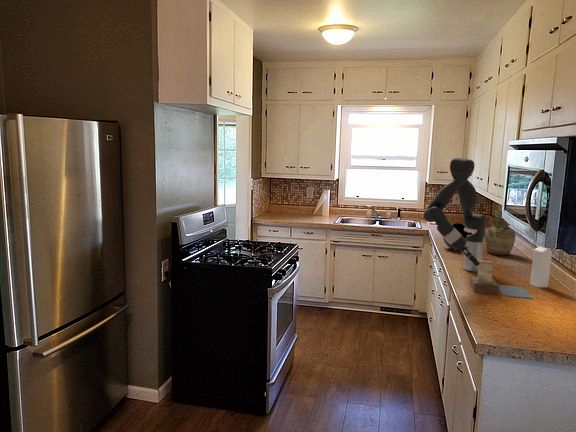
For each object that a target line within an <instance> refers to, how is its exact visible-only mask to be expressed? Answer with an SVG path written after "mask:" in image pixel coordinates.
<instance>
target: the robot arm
mask: <svg viewBox="0 0 576 432" xmlns="http://www.w3.org/2000/svg"><path fill="white" fill-rule="evenodd" d="M449 163H450V164H449V169H450V174H451V176H452V179H453V180H452V181H450V182H449V183H447V184H446V185H444V186H443V187H441V189H440V190H439V191H438V193H437V194H436V196H435V197H434V199H433V201H432V202H431V203H430V204H429V205H428V207H427V208H426V209H425V210H424V213H423V219H424V221H426V222H427V223H435V224H436V230H437V231H438V232H439V234H440V235H441V236H442V238H443V237H444V238H445V240H446V241H447V242H448V243H449V244H450V245H451V246H452V248H453V249H452V250H454V251H459V250H458V249H461V250H460V252H461V254H462V255H463V256H464V257H463V265H462V267H463V270H465V271H469V272H478V265H479V264H480V263H479V260H482V253H483V244H484V231H486V230H485V229H486V225H487V217H486V215H485V214H481V213H473V212H472V209H473V208H474V207H475V205H476V204H477V201H478V195H477V190H476V188H475V186H474V185H473V184H472V183H471V182H470V181H469V180H468V179H469V178H470V177H471V176H472V175H473V172H474V171H475V161H474V160H473V159H469V158H463V157H455V158H452V159H451V161H450V162H449ZM456 193H457V194H458V197H459V198H458V199H459V202H460V205H461V209H462V214H463V215H462V216H463V220H464V226H465V228H467V229H470V230H474V231H475V230H476V232H475V233H472V234H471V235H467V236H466V239H465V238H464V237H463V236H462V235H461V234H460V233H459V232H458V231H457V230H456V229H455V228H454V227H453V226H452V225H453V224H452V223H451V222H449V219H448V217H447V216H446V214H445V213H444V211H443V210H444V209H445V208H446V207H447V206H448V204H449V203H450V201H451V200H452V199H453V197H454V195H455V194H456ZM451 224H452V225H451ZM465 244H466V245H465Z"/></svg>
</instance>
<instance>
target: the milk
mask: <svg viewBox="0 0 576 432" xmlns="http://www.w3.org/2000/svg"><path fill="white" fill-rule="evenodd" d="M552 256H553V251H552V250H550V249H549V247H548V248H545V247H543V246H542V245H538V247H536V248H534V249H533V256H532V263H531V264H532V265H531V270H530V271H531V272H530V279H529V285H531V286H533V287H535V288H548V286H549V281H550V272H551V265H552Z"/></svg>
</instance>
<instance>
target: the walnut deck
mask: <svg viewBox="0 0 576 432" xmlns="http://www.w3.org/2000/svg"><path fill="white" fill-rule="evenodd" d="M498 285H499V284H498V283H497V282H496V280H495V279H494V278H493V277H492V280H491V283H489V282H479V281H478V280H477V276H473V275H470V276H469V286H470V287H471V289H472V290H473V292H474V293H480V292H482V294H483V293H484V294H490V293H492V294H493V295H499V292H500V291H499V286H498ZM492 294H491V295H492Z"/></svg>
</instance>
